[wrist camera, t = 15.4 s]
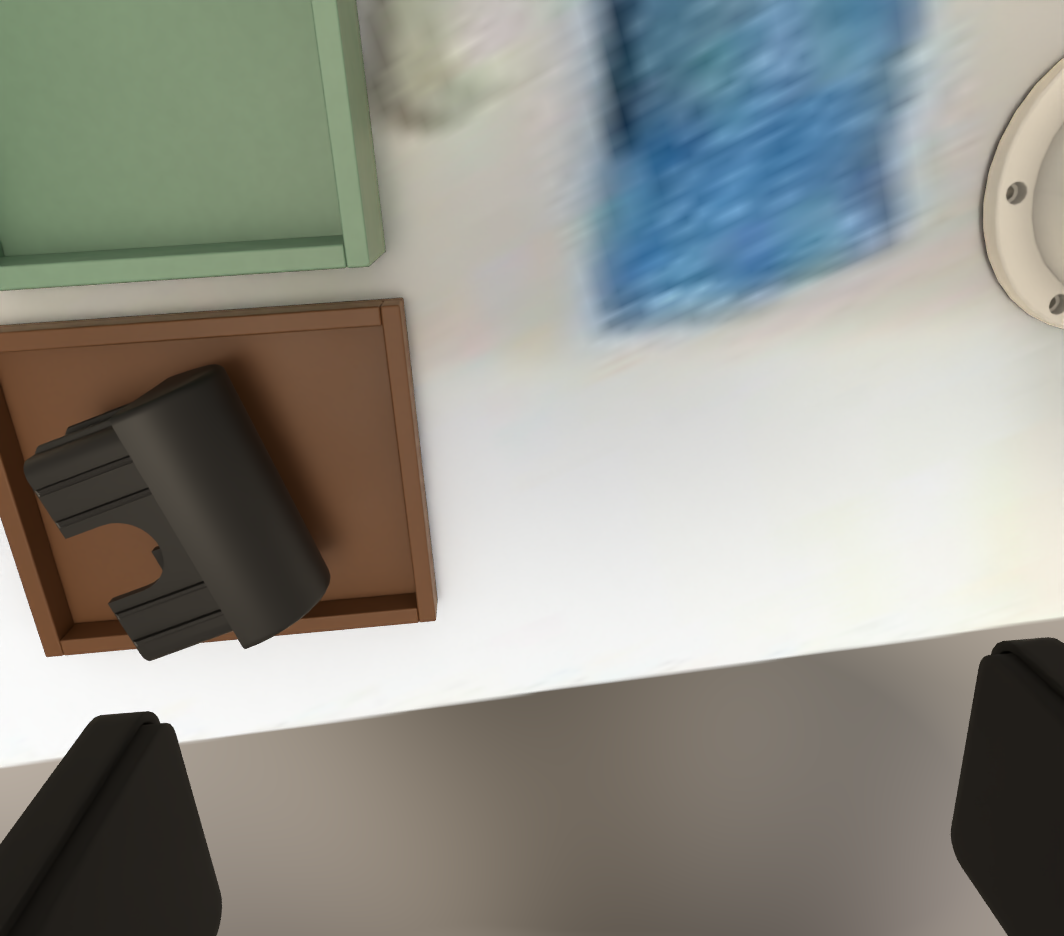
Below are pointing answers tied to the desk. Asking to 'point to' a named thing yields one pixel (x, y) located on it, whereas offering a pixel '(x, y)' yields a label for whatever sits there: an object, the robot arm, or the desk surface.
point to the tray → (284, 427)
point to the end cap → (188, 513)
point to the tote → (182, 141)
